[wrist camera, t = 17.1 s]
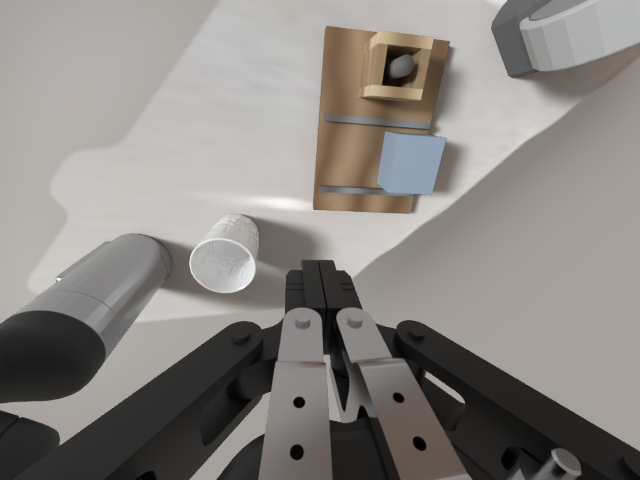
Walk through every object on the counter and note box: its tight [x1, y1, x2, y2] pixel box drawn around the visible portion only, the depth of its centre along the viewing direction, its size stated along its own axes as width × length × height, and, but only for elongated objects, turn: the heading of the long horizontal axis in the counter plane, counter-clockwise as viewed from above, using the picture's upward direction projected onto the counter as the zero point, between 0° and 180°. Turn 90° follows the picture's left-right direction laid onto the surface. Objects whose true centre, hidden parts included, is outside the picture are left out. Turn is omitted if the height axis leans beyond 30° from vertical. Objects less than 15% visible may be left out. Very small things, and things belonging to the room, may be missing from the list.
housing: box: [377, 131, 446, 195], centre depth 36 cm, size 6×7×5 cm
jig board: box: [313, 26, 450, 214], centre depth 34 cm, size 15×22×8 cm
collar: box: [358, 31, 434, 101], centre depth 31 cm, size 6×6×6 cm
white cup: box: [189, 214, 259, 293], centre depth 38 cm, size 8×8×10 cm
